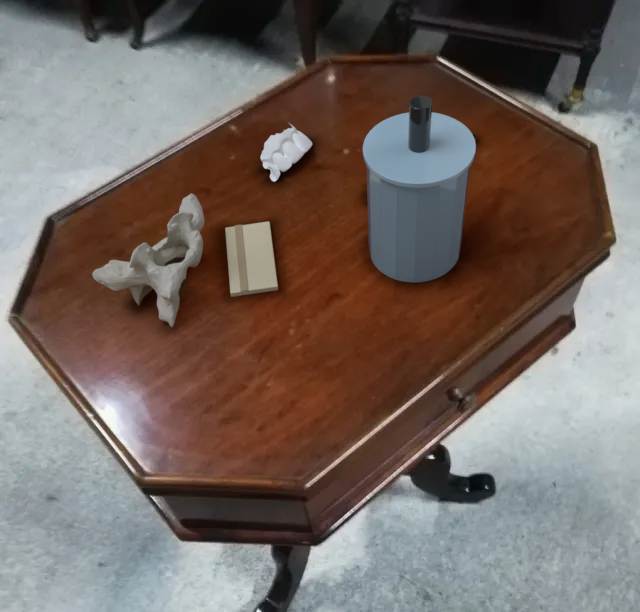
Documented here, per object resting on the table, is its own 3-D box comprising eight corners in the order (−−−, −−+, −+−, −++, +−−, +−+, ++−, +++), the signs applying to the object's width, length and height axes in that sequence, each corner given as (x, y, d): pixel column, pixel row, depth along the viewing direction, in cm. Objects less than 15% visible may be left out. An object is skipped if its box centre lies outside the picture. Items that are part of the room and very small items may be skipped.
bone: (117, 316, 79) (79, 262, 73) (181, 224, 85) (151, 167, 79) (184, 330, 76) (149, 275, 69) (246, 234, 81) (220, 174, 75)
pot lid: (460, 114, 73) (465, 60, 68) (487, 184, 67) (494, 130, 62) (355, 129, 73) (353, 76, 68) (372, 201, 67) (371, 147, 62)
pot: (448, 212, 82) (458, 112, 72) (469, 275, 77) (482, 176, 67) (363, 225, 82) (359, 126, 72) (377, 288, 77) (376, 192, 67)
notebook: (270, 225, 83) (269, 220, 83) (278, 290, 78) (277, 285, 77) (225, 231, 83) (224, 226, 83) (231, 297, 78) (230, 292, 77)
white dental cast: (326, 153, 89) (324, 125, 86) (275, 185, 87) (271, 158, 84) (297, 133, 92) (294, 105, 89) (246, 164, 89) (241, 136, 86)
